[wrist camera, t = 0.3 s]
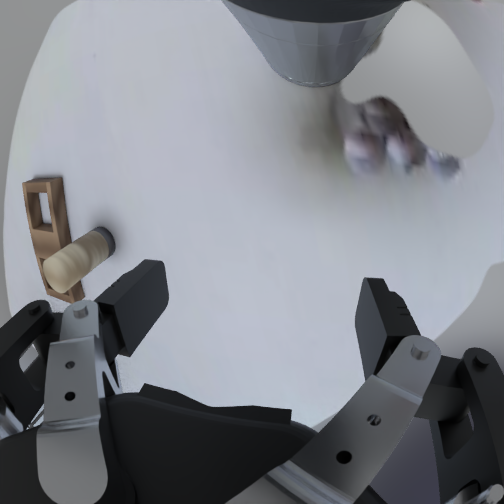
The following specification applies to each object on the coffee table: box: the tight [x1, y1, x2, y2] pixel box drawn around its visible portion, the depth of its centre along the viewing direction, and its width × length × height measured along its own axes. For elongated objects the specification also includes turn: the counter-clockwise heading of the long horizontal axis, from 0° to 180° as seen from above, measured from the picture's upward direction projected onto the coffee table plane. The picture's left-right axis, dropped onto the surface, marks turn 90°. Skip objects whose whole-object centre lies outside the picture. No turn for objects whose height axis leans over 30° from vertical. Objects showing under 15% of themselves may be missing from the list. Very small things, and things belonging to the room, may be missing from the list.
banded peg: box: [43, 227, 115, 293], centre depth 31 cm, size 4×4×10 cm
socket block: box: [22, 178, 84, 304], centre depth 36 cm, size 20×8×2 cm, turn 176°
